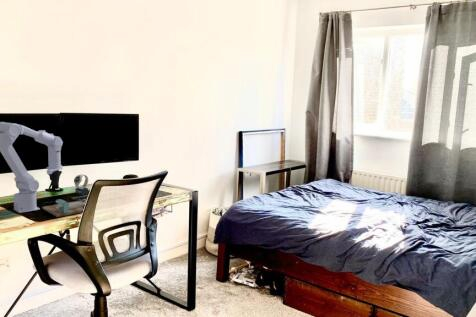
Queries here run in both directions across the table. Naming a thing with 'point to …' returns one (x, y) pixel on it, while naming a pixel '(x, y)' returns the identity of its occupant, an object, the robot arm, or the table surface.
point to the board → (53, 211)
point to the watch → (77, 181)
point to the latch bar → (73, 205)
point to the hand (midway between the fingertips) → (55, 185)
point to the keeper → (63, 205)
